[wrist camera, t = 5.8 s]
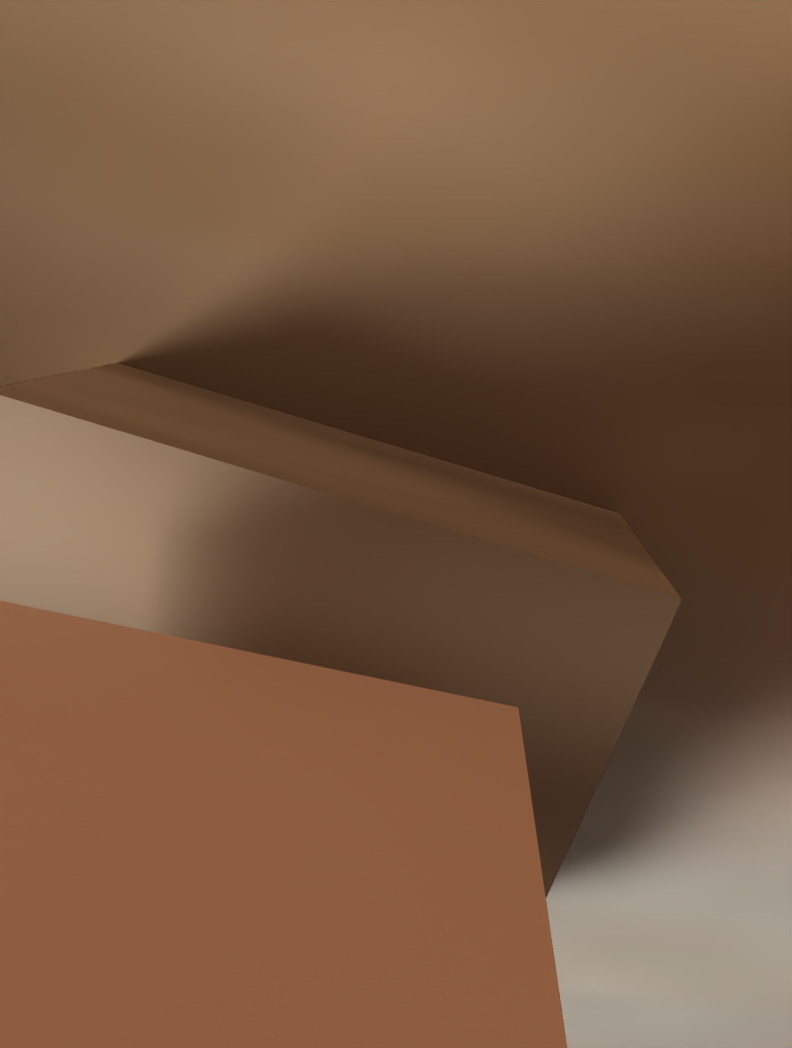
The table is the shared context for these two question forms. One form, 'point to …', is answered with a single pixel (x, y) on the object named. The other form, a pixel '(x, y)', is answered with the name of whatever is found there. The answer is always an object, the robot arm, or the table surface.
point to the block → (333, 560)
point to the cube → (258, 853)
